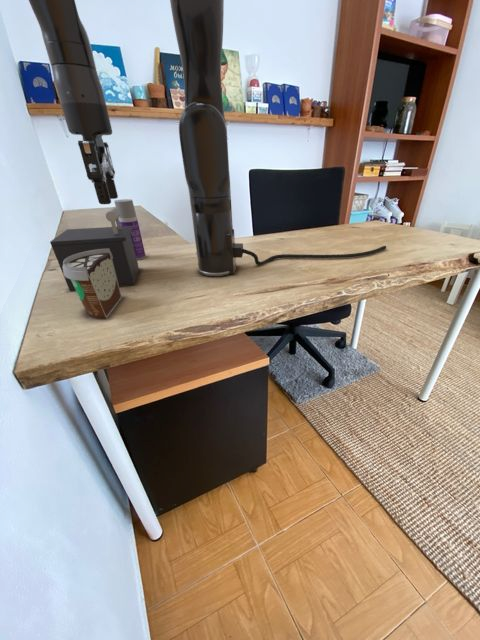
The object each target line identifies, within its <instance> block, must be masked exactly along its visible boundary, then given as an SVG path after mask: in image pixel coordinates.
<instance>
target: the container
mask: <svg viewBox="0 0 480 640" xmlns="http://www.w3.org/2000/svg"><path fill="white" fill-rule="evenodd" d="M133 201H134V200H133V199H131V198H129V199H128V198H124V199H116V200H115V199H114V201H113V202H114V207H116V208H118V209H119V210H120V216H119V217H118V218H119V221H120V225H121V226H132V228H133V229H132V231H131V233H130V235H131V239H132V243H133V247H134V251H135V255H136V259H137V261H140V260H145V259H146V258H147V255H146V251H145V246H144V243H143V239H142V234H141V230H140V229H141V228H140V225H139V221H138V216H137V213H136V209H135V204H134V202H133Z"/></svg>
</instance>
